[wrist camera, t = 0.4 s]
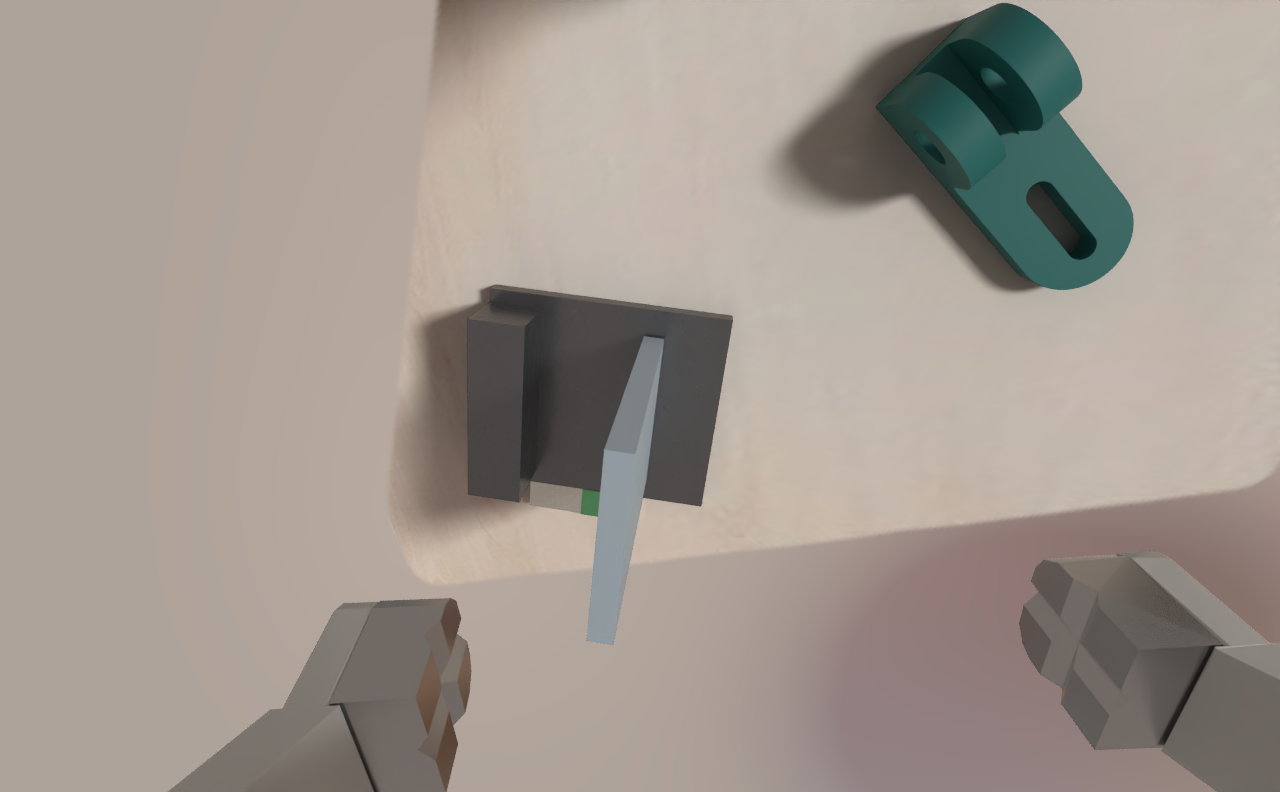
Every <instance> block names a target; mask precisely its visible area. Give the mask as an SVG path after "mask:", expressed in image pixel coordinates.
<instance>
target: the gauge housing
mask: <svg viewBox="0 0 1280 792" xmlns="http://www.w3.org/2000/svg"><path fill="white" fill-rule="evenodd" d="M732 322H733V317H732V316H730V315H722V314H715V313H707V312H700V311H692V310H684V309H677V308H669V307H662V306H654V305H647V304H639V303H631V302H624V301H616V300H609V299H601V298H594V297H586V296H578V295H571V294H563V293H556V292H548V291H541V290H533V289H525V288H518V287H510V286H503V285H494V286H493V287H492V288H491V297H490V302H489V303H488V304H486V305H485V306H484V307H482V308H481V309H480V310H478V311H477V312H476V313H474V314H473V315H472V316H470V317H469V318H468V319H467V388H468V494H469V495H475V496H482V497H488V498H495V499H501V500H508V501H514V502H520V500H521V498H522V496H523V494H524V492H525V490H526V488H527V486H528V485H529V483H530V481H531V483H530V505H533V506H540V507H546V508H553V509H559V510H566V511H572V512H579V513H581V514H584V515H591V516H597V517H598V511H599V500H600V489H601V479H602V468H603V457H604V449H605V446H606V443H607V440H608V437H609V435H610V432H611V429H612V426H613V423H614V420H615V417H616V415H617V412H618V409H619V406H620V403H621V400H622V398H623V395H624V392H625V389H626V386H627V383H628V380H629V378H630V375H631V372H632V369H633V366H634V363H635V361H636V358H637V355H638V352H639V349H640V346H641V343H642V341H643V338H644V336H646V337H653V338H661V339H664V344H663V352H662V360H661V368H660V376H659V384H658V392H657V400H656V408H655V416H654V424H653V432H652V439H651V447H650V455H649V463H648V471H647V479H646V484H645V489H644V494H643V498H649V499H655V500H662V501H669V502H675V503H682V504H689V505H695V506H701V505H702V499H703V493H704V487H705V481H706V475H707V469H708V463H709V458H710V452H711V446H712V440H713V434H714V428H715V422H716V416H717V411H718V405H719V399H720V393H721V387H722V381H723V375H724V369H725V363H726V358H727V352H728V346H729V340H730V334H731V328H732Z"/></svg>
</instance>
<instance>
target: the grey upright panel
mask: <svg viewBox="0 0 1280 792" xmlns="http://www.w3.org/2000/svg"><path fill="white" fill-rule="evenodd" d="M663 344H664V339H661V338H653V337H646V336H644V338H643V341H642V343H641V346H640V349H639V352H638V355H637V358H636V361H635V363H634V366H633V369H632V372H631V375H630V378H629V380H628V383H627V386H626V389H625V392H624V395H623V398H622V400H621V403H620V406H619V409H618V412H617V415H616V417H615V420H614V423H613V426H612V429H611V432H610V435H609V437H608V440H607V443H606V446H605V449H604V457H603V468H602V479H601V489H600V500H599V511H598V522H597V532H596V543H595V554H594V565H593V576H592V586H591V598H590V608H589V619H588V629H587V641H591V642H597V643H604V644H609V645H613V644H614V639H615V634H616V629H617V624H618V619H619V614H620V609H621V604H622V599H623V594H624V589H625V584H626V579H627V574H628V569H629V564H630V559H631V554H632V549H633V544H634V539H635V534H636V529H637V524H638V519H639V514H640V509H641V504H642V499H643V494H644V489H645V484H646V479H647V471H648V463H649V455H650V447H651V439H652V432H653V424H654V416H655V408H656V400H657V392H658V384H659V376H660V368H661V360H662V352H663Z"/></svg>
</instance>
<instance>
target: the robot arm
mask: <svg viewBox="0 0 1280 792" xmlns="http://www.w3.org/2000/svg"><path fill="white" fill-rule="evenodd" d="M1031 582H1032V583H1033V585H1034V586H1035V588H1036V590H1037V591H1038V593H1037V594H1036V595H1035V596H1033V597H1032V598H1031V599H1030V600H1029V601H1028V602H1027V603H1026V604H1024V606H1023V610H1022V614H1021V618H1020V622H1019V624H1020V630H1021V637H1022V643H1023V645H1024V648H1025V650H1026V652H1027V655H1028V657H1029V659H1030V660H1031V662H1032V663H1033V664H1034V666H1035V667H1036V669H1037V670H1038V672H1039V673H1040V674H1041V675H1042V676H1044V677H1045V678H1047V679H1048V680H1050V681H1052V682H1053V683H1055V684H1056V685H1058V686H1060V687H1061V688H1062V694H1061V704H1062V705H1063V707H1064V708H1065V710H1066V711H1067V712H1068V714H1069V715H1070V717H1071V718H1072V719H1073V721H1074V722H1075V723H1076V725H1077V726H1078V727H1079V729H1080V730H1081V732H1082V733H1083V734H1084V736H1085V737H1086V739H1087V740H1088V741H1089V743H1090V744H1091V746H1092V747H1093V748H1094V750H1106V749H1130V748H1131V749H1133V748H1159V747H1163V749H1162V752H1164V753H1165V754H1166V755H1168V756H1169V757H1171V758H1172V759H1173V760H1175V761H1176V762H1177V763H1179V764H1180V765H1182V766H1183V767H1184V768H1185V769H1187V770H1189V771H1190V772H1191V773H1192V774H1194V775H1195V776H1196V777H1198V778H1199V779H1201V780H1202V781H1203V782H1205V783H1206V784H1207V785H1209V786H1210V787H1212V788H1213V789H1214V790H1215V791H1217V792H1280V643H1269V642H1267V641H1266V640H1265V639H1264V638H1263V637H1261V635H1259V634H1258V633H1257V632H1256V631H1255V630H1253V629H1252V628H1251V627H1250V626H1249V625H1248V624H1246V623H1245V622H1244V621H1243V620H1242V619H1241V618H1239V617H1238V616H1237V615H1236V614H1235V613H1234V612H1232V611H1231V610H1230V609H1229V608H1228V607H1227V606H1225V605H1224V604H1223V603H1222V602H1221V601H1220V600H1218V599H1217V598H1216V597H1215V596H1214V595H1213V594H1211V593H1210V592H1209V591H1208V590H1207V589H1206V588H1204V587H1203V586H1202V585H1201V584H1200V583H1199V582H1197V581H1196V580H1195V579H1194V578H1193V577H1191V576H1190V575H1189V574H1188V573H1187V572H1186V571H1185V570H1183V569H1182V568H1181V567H1180V566H1179V565H1178V564H1176V563H1175V562H1174V561H1173V560H1172V559H1171V558H1169V557H1167V556H1165V555H1163V554H1160V553H1158V552H1156V551H1149V552H1137V553H1124V554H1116V555H1100V556H1086V557H1072V558H1059V559H1045V560H1043V561H1042V562H1041V563H1040V564H1039V565H1038V566H1037V567H1036V568H1035V571H1034V574H1033V577H1032V580H1031ZM460 621H461V616H460V612H459V609H458V606H457V602H456V601H455V600H454V599H451V598H444V599H420V600H396V601H395V600H394V601H380V602H367V603H365V602H364V603H343V604H342V605H341V606H340V607H339V608H337V609H336V610H335V611H334V612H333V614H332V616H331V618H330V620H329V622H328V624H327V626H326V627H325V629H324V631H323V633H322V635H321V637H320V639H319V641H318V642H317V644H316V646H315V648H314V650H313V652H312V654H311V656H310V658H309V659H308V661H307V663H306V665H305V667H304V669H303V671H302V673H301V675H300V677H299V678H298V680H297V682H296V684H295V686H294V688H293V690H292V692H291V693H290V695H289V697H288V699H287V701H286V703H285V705H284V707H283V708H282V709H273V710H270V711H268V712H267V713H266V714H265V715H263V716H262V717H261V718H260V719H258V720H257V721H256V722H255V723H253V724H252V725H251V726H250V727H248V728H247V729H246V730H245V731H243V732H242V733H241V734H240V735H238V736H237V737H236V738H235V739H233V740H232V741H231V742H230V743H228V744H227V745H226V746H225V747H223V748H222V749H221V750H220V751H218V752H217V753H216V754H215V755H213V756H212V757H211V758H210V759H208V760H207V761H206V762H205V763H203V764H202V765H201V766H200V767H198V768H197V769H196V770H195V771H193V772H192V773H191V774H190V775H188V776H187V777H186V778H185V779H183V780H182V781H181V782H180V783H178V784H177V785H176V786H175V787H173V788H172V789H171V790H170V791H168V792H447V787H448V784H449V779H450V775H451V770H452V767H453V762H454V758H455V754H456V750H457V746H458V742H457V738H456V735H455V731H454V727H453V725H454V724H455V723H456V722H457V721H458V720H459V719H460V718H461V717H462V716H463V714H464V713H465V712H466V707H467V702H468V698H469V693H470V681H471V661H470V653H469V648H468V644H467V641H466V640H465V639H463V638H462V637H461V636H459V635H458V634H457V632H458V628H459V624H460Z"/></svg>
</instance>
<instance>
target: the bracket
mask: <svg viewBox="0 0 1280 792" xmlns="http://www.w3.org/2000/svg"><path fill="white" fill-rule="evenodd" d="M1081 90H1082V78H1081V74H1080V71H1079V68H1078V66H1077V64H1076V62H1075V60H1074V58H1073V56H1072V55H1071V53H1070V51H1069V50H1068V49H1067V47H1066V46H1065V44H1064V43H1063V42H1062V41H1061V39H1060V38H1059V37H1058V36H1057V35H1056V34H1055V33H1054V32H1053V31H1052V30H1051V29H1050V28H1049V27H1048V26H1047V25H1046V24H1045V23H1044V22H1042V21H1041V20H1040V19H1039V18H1037V17H1036V16H1034V15H1033V14H1032V13H1030V12H1028V11H1027V10H1025V9H1023V8H1021V7H1018V6H1016V5H1013V4H1008V3H1000V4H997V5H994V6H992V7H990V8H988V9H985V10H983V11H981V12H979V13H977V14H974V15H972V16H970V17H968V18H967V19H966V20H964V21H963V22H962V23H961V24H960V25H959V26H958V27H957V28H956V29H955V30H954V31H953V32H952V33H951V34H950V35H949V36H948V37H947V38H946V39H945V40H944V41H943V42H942V43H941V44H940V45H939V46H938V47H937V48H936V49H935V50H934V51H933V52H932V53H931V54H930V55H929V56H927V57H926V58H925V59H924V60H923V61H922V62H921V63H920V64H919V65H918V66H917V67H916V68H915V69H914V70H913V71H912V72H911V73H910V74H909V75H908V76H907V77H906V78H905V79H904V80H903V81H902V82H901V83H900V84H899V85H898V86H897V87H896V88H895V89H894V90H893V91H892V92H890V93H889V94H888V95H887V96H886V97H885V98H884V99H883V100H882V101H881V102H880V103H879V104H878V105H877V106H876V108H877V109H878V110H879V111H880V113H881V114H882V115H883V116H884V117H885V118H886V120H887V121H888V122H889V123H890V124H891V125H892V127H893V128H894V129H895V130H896V131H897V133H898V134H899V135H900V136H901V137H902V138H903V140H904V141H905V142H906V143H907V144H908V145H909V147H910V148H911V149H912V150H913V151H914V153H915V154H916V155H917V156H918V157H919V158H920V160H921V161H922V162H923V163H924V164H925V166H926V167H927V168H928V169H929V170H930V171H931V173H932V174H933V175H934V176H935V177H936V178H937V180H938V181H939V182H940V183H941V184H942V186H943V187H944V188H945V189H946V190H947V191H948V193H949V194H950V195H951V196H952V197H953V198H954V200H955V201H956V202H957V203H958V204H959V206H960V207H961V208H962V209H963V210H964V211H965V213H966V214H967V215H968V216H969V217H970V218H971V220H972V221H973V222H974V223H975V224H976V226H977V227H978V228H979V229H980V230H981V231H982V233H983V234H984V235H985V236H986V237H987V239H988V240H989V241H990V242H991V243H992V244H993V246H994V247H995V248H996V249H997V250H998V251H999V253H1000V254H1001V255H1002V256H1003V257H1004V259H1005V260H1006V261H1007V262H1008V263H1009V264H1010V266H1011V267H1012V268H1013V269H1014V270H1015V271H1016V272H1017V273H1018V274H1020V275H1021V276H1023V277H1024V278H1026V279H1028V280H1030V281H1033V282H1035V283H1037V284H1039V285H1041V286H1043V287H1046V288H1050V289H1057V290H1067V289H1074V288H1079V287H1082V286H1085V285H1088V284H1090V283H1092V282H1094V281H1096V280H1098V279H1099V278H1101V277H1102V276H1104V275H1105V274H1106V273H1108V272H1109V271H1110V270H1111V269H1112V268H1113V267H1114V266H1115V265H1116V264H1117V263H1118V262H1119V260H1120V259H1121V258H1122V256H1123V255H1124V253H1125V252H1126V250H1127V248H1128V246H1129V243H1130V241H1131V237H1132V233H1133V225H1134V223H1133V214H1132V210H1131V207H1130V205H1129V203H1128V201H1127V200H1126V198H1125V197H1124V196H1123V195H1122V193H1121V192H1120V191H1119V189H1118V188H1117V187H1116V185H1115V184H1114V183H1113V182H1112V180H1111V179H1110V178H1109V176H1108V175H1107V174H1106V173H1105V171H1104V170H1103V169H1102V167H1101V166H1100V165H1099V164H1098V162H1097V161H1096V160H1095V158H1094V157H1093V156H1092V155H1091V153H1090V152H1089V151H1088V149H1087V148H1086V147H1085V146H1084V144H1083V143H1082V142H1081V140H1080V139H1079V138H1078V137H1077V135H1076V134H1075V133H1074V131H1073V130H1072V129H1071V127H1070V126H1069V125H1068V124H1067V122H1066V121H1065V120H1064V118H1063V117H1062V116H1061V115H1060V113H1059V112H1060V111H1061V110H1062V109H1064V108H1065V107H1066V106H1067V105H1068V104H1069V103H1071V102H1072V101H1073V100H1074V99H1075V98H1076V97H1078V96H1079V94H1080V93H1081ZM1036 183H1038V184H1039V185H1040V186H1041V188H1042V189H1043V190H1044V191H1045V193H1046V194H1047V195H1048V196H1049V197H1050V199H1051V200H1052V201H1053V202H1054V204H1055V205H1056V206H1057V207H1058V209H1059V210H1060V211H1061V212H1062V214H1063V215H1064V216H1065V217H1066V219H1067V220H1068V221H1069V222H1070V223H1071V225H1072V226H1073V227H1074V228H1075V230H1076V231H1077V232H1078V234H1079V236H1080V241H1079V244H1078V246H1077V247H1076V249H1075V250H1073V251H1072V252H1070V253H1067V252H1066V251H1065V249H1064V248H1063V247H1062V246H1061V244H1060V243H1059V242H1058V241H1057V240H1056V238H1055V237H1054V236H1053V235H1052V233H1051V232H1050V231H1049V230H1048V229H1047V227H1046V226H1045V225H1044V224H1043V222H1042V221H1041V220H1040V219H1039V218H1038V216H1037V215H1036V214H1035V213H1034V211H1033V210H1032V209H1031V208H1030V207H1029V205H1028V204H1027V201H1026V195H1027V192H1028V190H1029V189H1030V188H1031V187H1032V186H1033V185H1034V184H1036Z"/></svg>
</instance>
